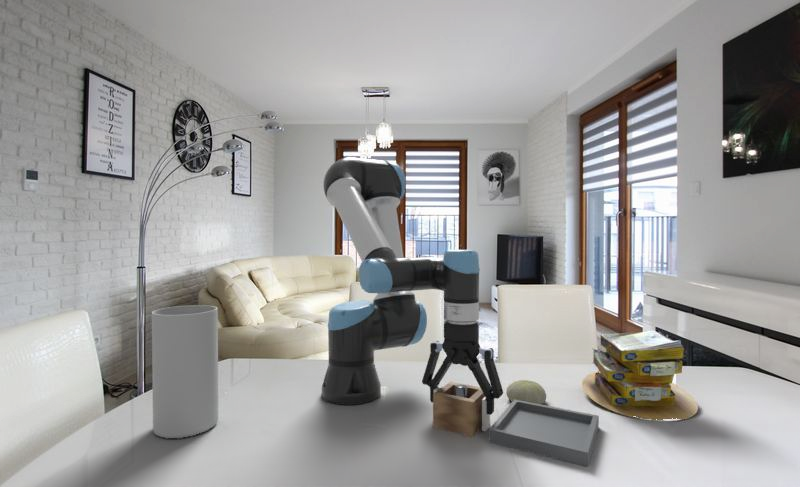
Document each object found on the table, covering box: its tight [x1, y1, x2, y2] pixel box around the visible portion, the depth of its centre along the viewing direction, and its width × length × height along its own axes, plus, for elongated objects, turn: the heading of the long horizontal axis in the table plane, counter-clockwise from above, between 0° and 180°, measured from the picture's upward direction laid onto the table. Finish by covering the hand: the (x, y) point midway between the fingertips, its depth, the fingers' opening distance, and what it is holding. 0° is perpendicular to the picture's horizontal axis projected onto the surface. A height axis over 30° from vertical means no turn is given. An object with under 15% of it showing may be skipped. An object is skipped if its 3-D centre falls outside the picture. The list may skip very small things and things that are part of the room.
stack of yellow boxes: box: [581, 329, 699, 421], centre depth 106 cm, size 25×25×17 cm
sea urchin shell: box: [505, 379, 547, 405], centre depth 106 cm, size 9×8×8 cm
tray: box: [488, 399, 600, 467], centre depth 88 cm, size 18×18×2 cm
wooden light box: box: [432, 381, 485, 438], centre depth 94 cm, size 9×11×7 cm
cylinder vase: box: [151, 304, 219, 439], centre depth 91 cm, size 12×12×25 cm
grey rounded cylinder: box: [455, 384, 467, 398], centre depth 93 cm, size 3×3×8 cm
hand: (461, 422), depth 93 cm, fingers open, 10 cm apart
